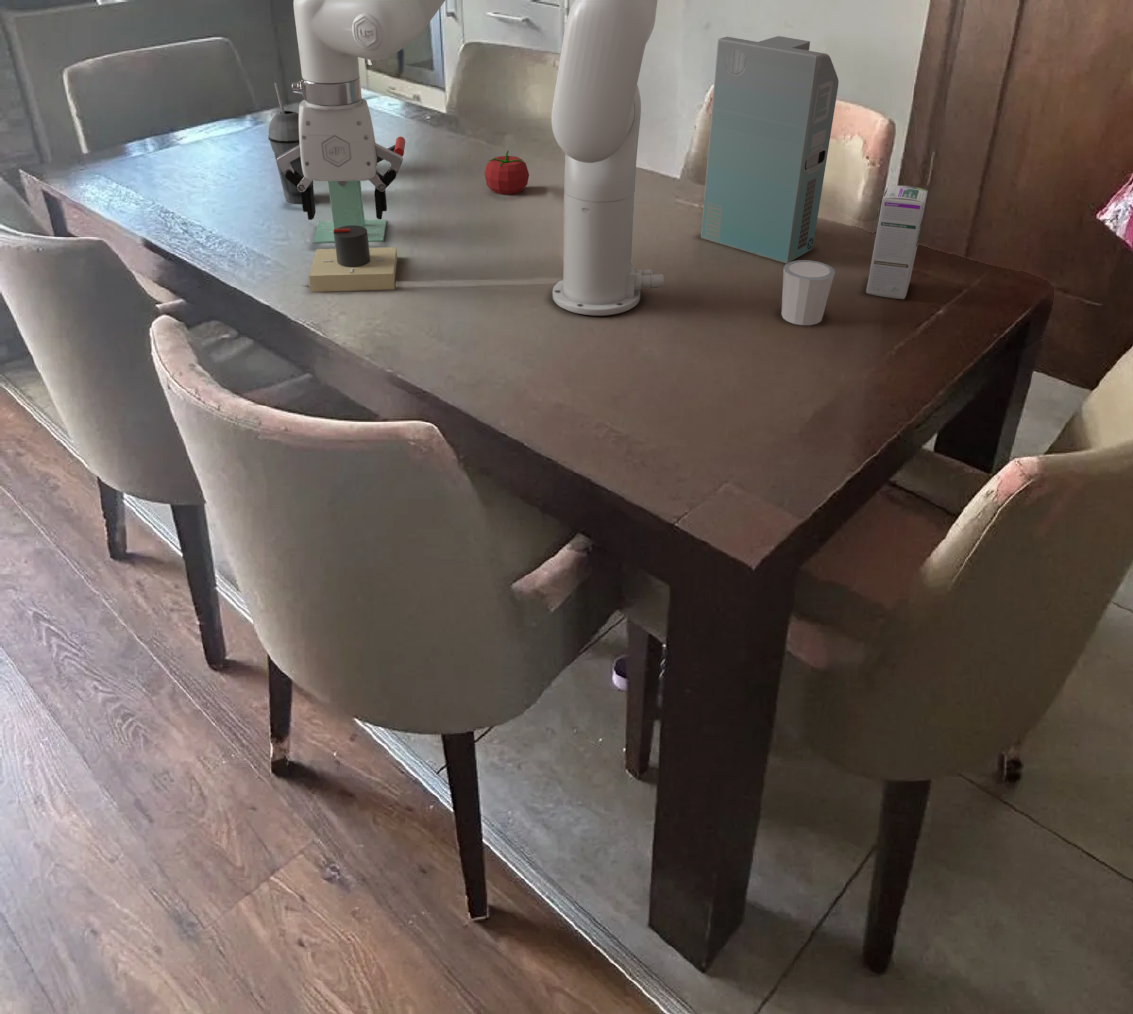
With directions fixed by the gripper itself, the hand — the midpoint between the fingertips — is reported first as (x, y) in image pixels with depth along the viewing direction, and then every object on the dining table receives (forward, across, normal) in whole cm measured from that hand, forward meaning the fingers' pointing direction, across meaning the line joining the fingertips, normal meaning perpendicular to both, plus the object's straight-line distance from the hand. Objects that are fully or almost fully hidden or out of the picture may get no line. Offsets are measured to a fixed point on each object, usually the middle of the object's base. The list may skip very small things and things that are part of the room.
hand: (346, 216), depth 146 cm
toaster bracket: (+9, -2, +16) cm, 18 cm away
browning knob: (+7, 0, 0) cm, 7 cm away
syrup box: (+8, +78, -10) cm, 80 cm away
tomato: (+9, +24, +35) cm, 44 cm away
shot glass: (+8, +64, -18) cm, 67 cm away
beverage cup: (+10, -12, +32) cm, 35 cm away
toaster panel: (+9, 0, 0) cm, 9 cm away
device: (+8, +64, +9) cm, 65 cm away
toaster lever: (-2, +3, +16) cm, 16 cm away
